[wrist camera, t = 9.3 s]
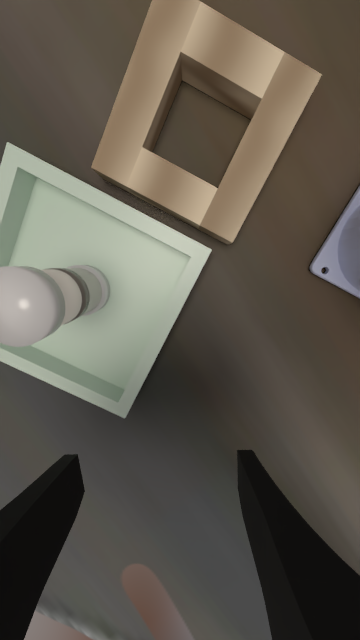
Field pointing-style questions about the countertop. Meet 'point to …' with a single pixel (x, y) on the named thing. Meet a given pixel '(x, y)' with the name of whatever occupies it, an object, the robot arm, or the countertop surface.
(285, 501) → the robot arm
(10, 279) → the cylinder
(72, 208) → the parts tray
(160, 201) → the wooden square frame
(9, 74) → the countertop surface
